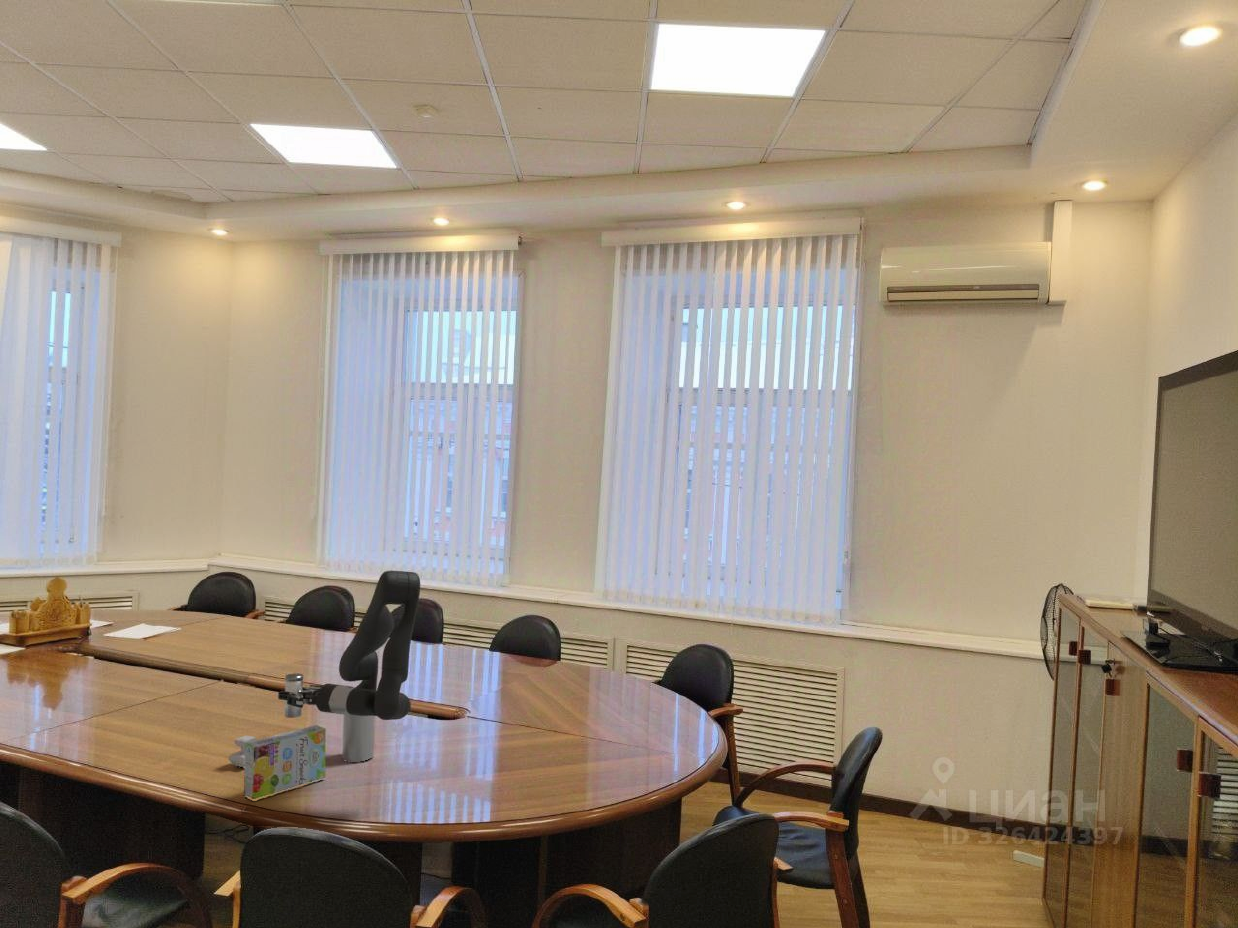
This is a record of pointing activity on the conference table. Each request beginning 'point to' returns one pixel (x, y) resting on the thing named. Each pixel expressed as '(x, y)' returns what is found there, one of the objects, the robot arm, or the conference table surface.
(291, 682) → the metal tin
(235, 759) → the white blocky piece
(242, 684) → the conference table surface
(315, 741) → the snack box
